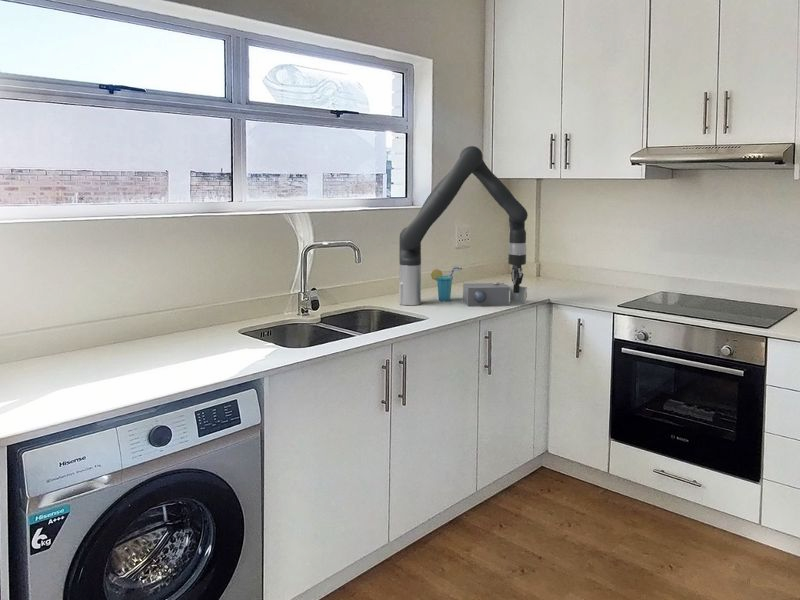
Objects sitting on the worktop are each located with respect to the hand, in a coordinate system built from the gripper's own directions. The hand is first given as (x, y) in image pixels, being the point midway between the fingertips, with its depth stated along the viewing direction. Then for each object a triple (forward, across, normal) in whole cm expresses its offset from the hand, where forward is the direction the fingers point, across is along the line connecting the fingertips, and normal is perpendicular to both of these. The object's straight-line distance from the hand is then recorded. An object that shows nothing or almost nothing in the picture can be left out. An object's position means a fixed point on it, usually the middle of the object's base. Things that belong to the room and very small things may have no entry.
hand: (516, 292), depth 298 cm
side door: (+5, -4, 0) cm, 6 cm away
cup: (+5, -11, -29) cm, 31 cm away
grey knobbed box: (+5, -2, -13) cm, 14 cm away
